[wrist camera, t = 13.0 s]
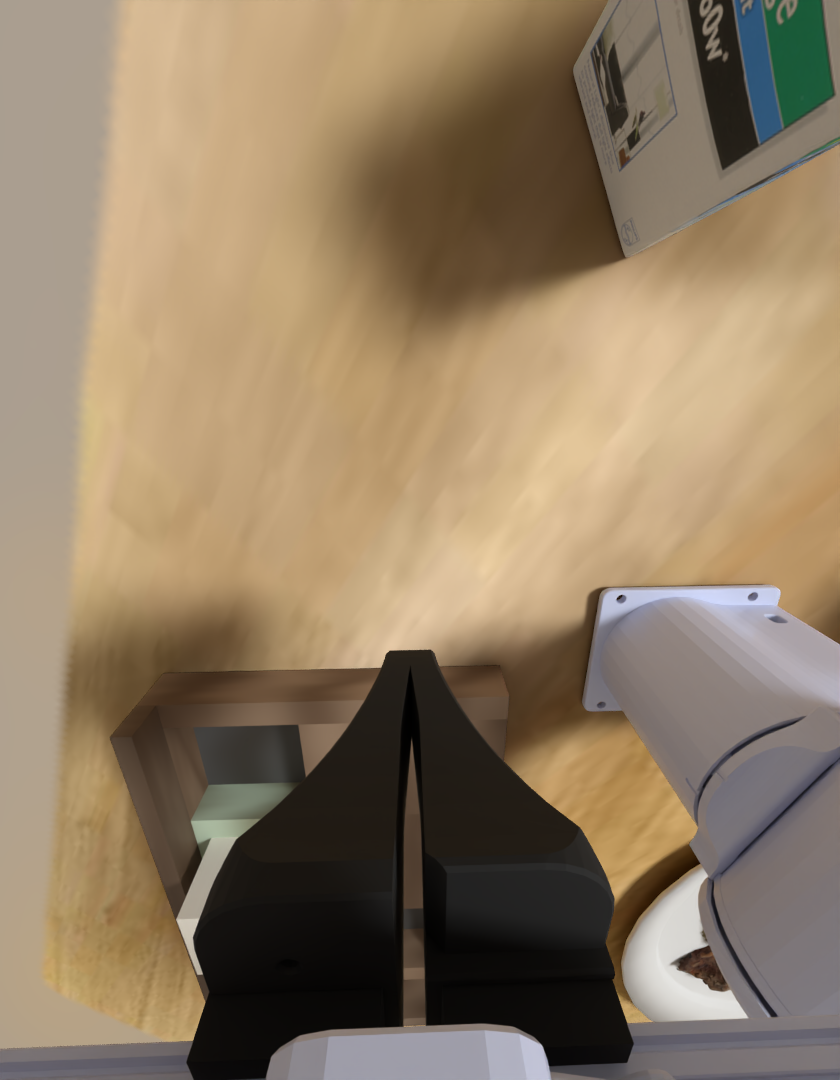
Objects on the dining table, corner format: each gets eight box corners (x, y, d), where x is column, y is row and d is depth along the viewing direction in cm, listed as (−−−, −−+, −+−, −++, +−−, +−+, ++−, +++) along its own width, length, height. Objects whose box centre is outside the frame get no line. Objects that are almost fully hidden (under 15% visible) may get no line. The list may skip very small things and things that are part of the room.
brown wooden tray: (499, 665, 24) (518, 726, 20) (479, 941, 33) (489, 1022, 29) (163, 673, 23) (109, 737, 19) (241, 950, 33) (217, 1033, 29)
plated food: (668, 780, 28) (701, 831, 25) (1081, 790, 29) (1162, 839, 26) (579, 1014, 39) (595, 1071, 35) (885, 1013, 40) (926, 1068, 37)
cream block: (295, 834, 25) (275, 915, 21) (305, 887, 27) (289, 970, 23) (211, 837, 25) (176, 919, 21) (227, 890, 26) (197, 974, 23)
